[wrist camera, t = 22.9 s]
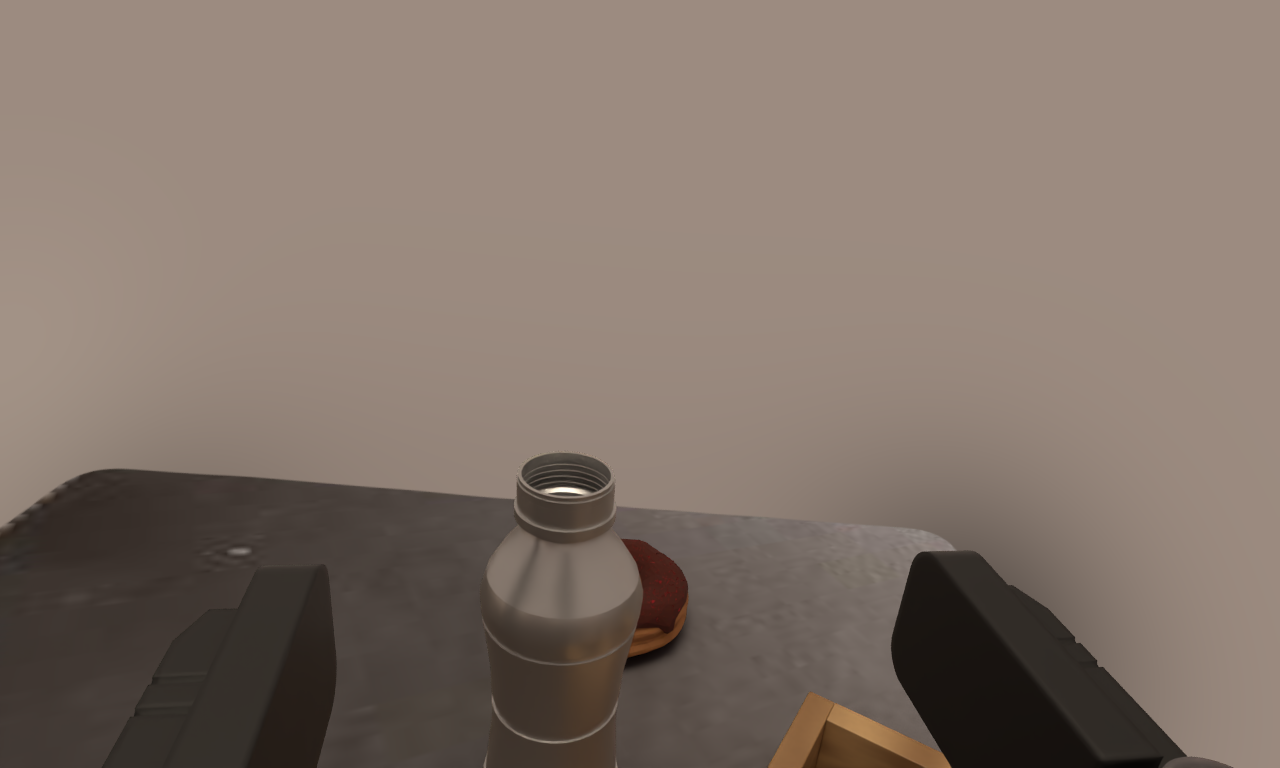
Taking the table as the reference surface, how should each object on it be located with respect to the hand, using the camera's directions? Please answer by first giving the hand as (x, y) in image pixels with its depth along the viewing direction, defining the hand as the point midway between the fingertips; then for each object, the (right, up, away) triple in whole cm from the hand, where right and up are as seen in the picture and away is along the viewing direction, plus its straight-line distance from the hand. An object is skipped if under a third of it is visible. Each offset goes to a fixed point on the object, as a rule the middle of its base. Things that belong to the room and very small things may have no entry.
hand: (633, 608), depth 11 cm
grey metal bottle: (-4, -19, +27) cm, 33 cm away
